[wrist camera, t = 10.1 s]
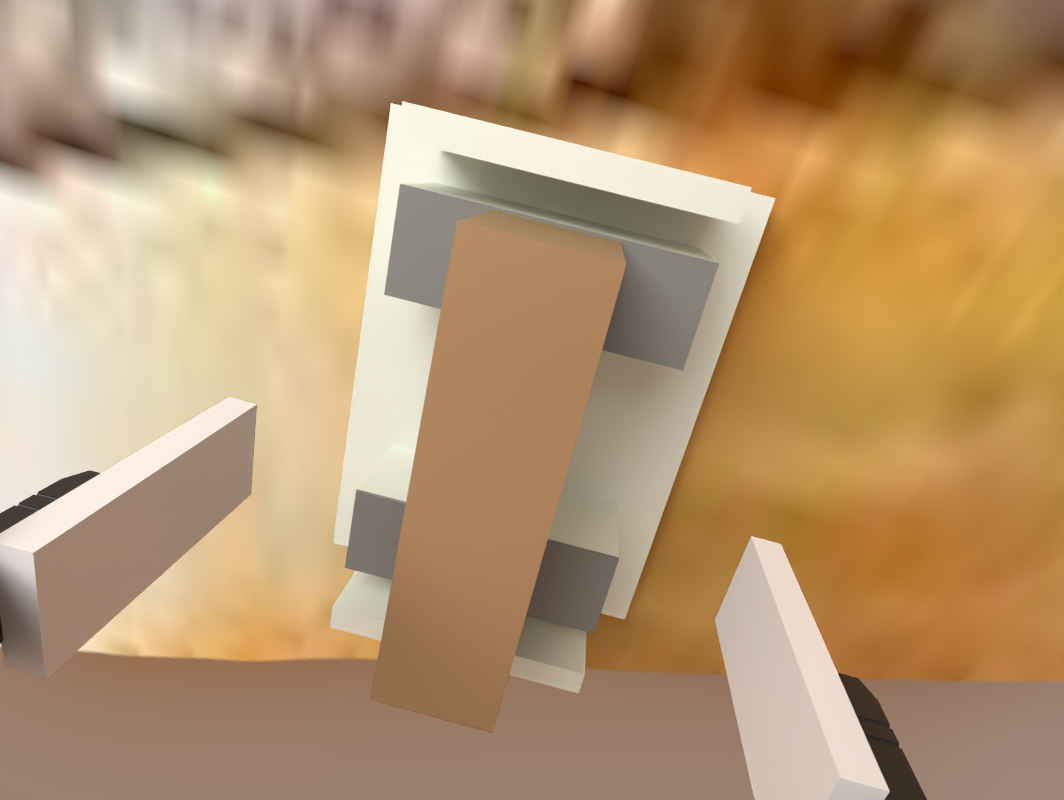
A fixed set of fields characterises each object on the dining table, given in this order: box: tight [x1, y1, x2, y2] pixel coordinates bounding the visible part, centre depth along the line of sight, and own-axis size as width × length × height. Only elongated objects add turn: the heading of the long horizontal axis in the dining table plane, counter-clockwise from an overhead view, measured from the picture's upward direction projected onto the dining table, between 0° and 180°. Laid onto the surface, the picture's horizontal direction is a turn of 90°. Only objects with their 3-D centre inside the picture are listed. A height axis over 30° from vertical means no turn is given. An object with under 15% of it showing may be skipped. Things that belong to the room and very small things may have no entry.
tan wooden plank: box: [371, 210, 626, 733], centre depth 19 cm, size 15×4×5 cm, turn 167°
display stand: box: [330, 101, 775, 693], centre depth 24 cm, size 19×14×7 cm
